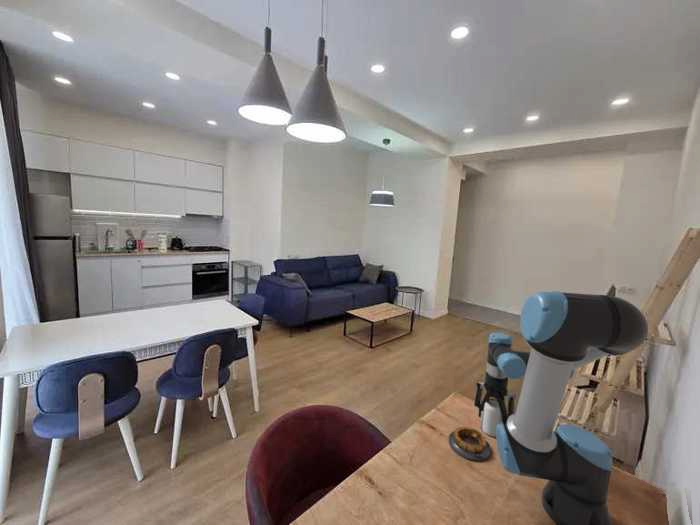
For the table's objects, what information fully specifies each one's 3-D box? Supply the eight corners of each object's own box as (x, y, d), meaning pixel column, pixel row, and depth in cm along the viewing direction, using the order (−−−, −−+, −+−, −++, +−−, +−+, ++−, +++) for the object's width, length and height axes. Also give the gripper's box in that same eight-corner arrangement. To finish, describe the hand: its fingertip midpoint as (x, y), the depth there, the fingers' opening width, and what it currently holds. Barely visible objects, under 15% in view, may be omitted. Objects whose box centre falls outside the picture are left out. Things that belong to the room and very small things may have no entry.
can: (501, 439, 107) (504, 409, 106) (482, 434, 110) (484, 404, 109) (500, 429, 113) (503, 400, 112) (482, 424, 116) (485, 395, 115)
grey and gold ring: (497, 447, 103) (498, 438, 103) (479, 468, 94) (480, 458, 94) (460, 427, 114) (461, 418, 113) (441, 443, 105) (441, 434, 104)
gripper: (529, 381, 104) (522, 440, 107) (476, 361, 119) (471, 414, 121) (521, 388, 99) (515, 450, 102) (467, 367, 114) (462, 421, 116)
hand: (491, 430), depth 112 cm, fingers closed on can, 6 cm apart
